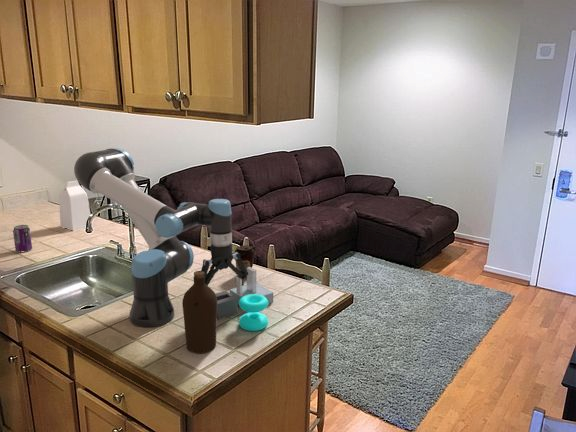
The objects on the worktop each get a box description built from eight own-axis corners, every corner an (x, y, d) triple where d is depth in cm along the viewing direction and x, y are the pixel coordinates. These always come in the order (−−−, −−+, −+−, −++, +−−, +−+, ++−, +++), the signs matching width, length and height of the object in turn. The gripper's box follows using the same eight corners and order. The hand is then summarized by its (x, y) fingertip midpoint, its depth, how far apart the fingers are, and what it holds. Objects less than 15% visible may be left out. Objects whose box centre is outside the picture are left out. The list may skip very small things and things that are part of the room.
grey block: (218, 319, 170) (217, 304, 169) (207, 311, 176) (206, 296, 175) (237, 313, 175) (237, 298, 173) (226, 305, 181) (226, 290, 179)
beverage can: (33, 251, 232) (30, 227, 229) (16, 253, 228) (13, 229, 225) (31, 247, 238) (28, 223, 235) (15, 249, 234) (11, 225, 231)
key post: (252, 293, 182) (252, 271, 180) (246, 289, 186) (246, 267, 183) (256, 292, 183) (256, 270, 181) (250, 288, 187) (250, 266, 184)
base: (246, 310, 177) (246, 300, 176) (229, 298, 187) (229, 289, 185) (273, 302, 185) (273, 292, 183) (255, 291, 194) (255, 282, 193)
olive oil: (222, 349, 151) (221, 275, 145) (189, 358, 146) (187, 281, 140) (211, 334, 160) (209, 263, 154) (180, 341, 155) (176, 269, 149)
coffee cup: (251, 280, 204) (251, 251, 200) (232, 278, 205) (231, 249, 202) (256, 273, 212) (256, 245, 209) (238, 271, 214) (238, 243, 210)
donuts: (243, 291, 170) (270, 294, 168) (243, 317, 172) (270, 320, 171) (235, 303, 160) (264, 306, 159) (235, 330, 163) (264, 334, 161)
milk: (73, 231, 263) (68, 184, 256) (60, 227, 269) (55, 181, 262) (92, 226, 273) (88, 181, 266) (79, 222, 279) (75, 178, 272)
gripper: (193, 253, 158) (197, 312, 164) (257, 239, 173) (257, 294, 179) (183, 247, 164) (187, 305, 170) (245, 234, 179) (246, 287, 184)
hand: (223, 299), depth 174 cm, fingers open, 13 cm apart
